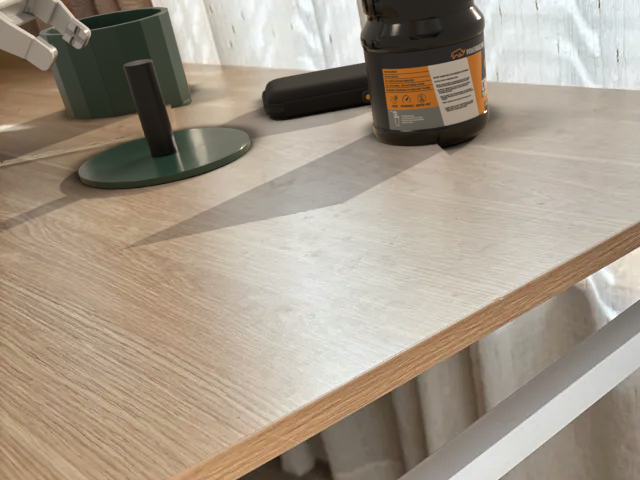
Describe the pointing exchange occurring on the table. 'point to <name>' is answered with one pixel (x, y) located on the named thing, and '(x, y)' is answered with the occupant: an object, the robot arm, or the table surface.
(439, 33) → the supplement container
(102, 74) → the tin
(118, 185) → the lid
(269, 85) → the carrying case
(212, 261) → the table surface
